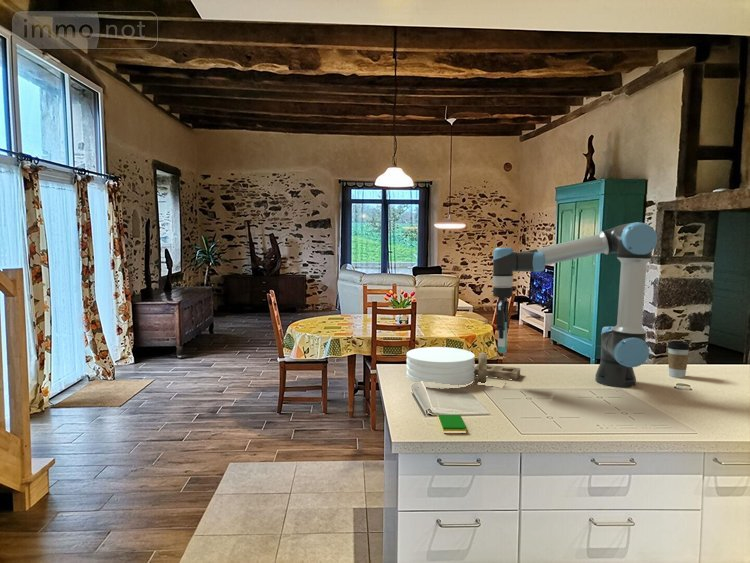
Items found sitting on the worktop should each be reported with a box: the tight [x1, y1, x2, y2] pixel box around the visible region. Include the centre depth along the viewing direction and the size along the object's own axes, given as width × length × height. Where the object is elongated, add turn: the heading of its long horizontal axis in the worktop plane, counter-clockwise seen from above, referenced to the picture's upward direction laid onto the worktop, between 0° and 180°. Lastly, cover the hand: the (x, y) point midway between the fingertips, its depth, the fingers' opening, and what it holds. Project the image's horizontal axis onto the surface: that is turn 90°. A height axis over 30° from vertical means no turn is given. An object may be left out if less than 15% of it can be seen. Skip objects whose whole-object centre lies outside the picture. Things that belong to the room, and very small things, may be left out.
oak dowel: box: [477, 352, 488, 383], centre depth 208 cm, size 3×3×12 cm
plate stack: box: [405, 346, 476, 386], centre depth 212 cm, size 28×28×12 cm
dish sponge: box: [437, 414, 467, 432], centre depth 162 cm, size 7×14×2 cm, turn 0°
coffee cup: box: [667, 340, 691, 379], centre depth 219 cm, size 8×8×15 cm
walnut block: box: [474, 363, 521, 381], centre depth 219 cm, size 18×10×4 cm, turn 65°
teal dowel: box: [497, 322, 508, 354], centre depth 203 cm, size 3×3×12 cm
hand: (502, 345), depth 204 cm, fingers closed on teal dowel, 3 cm apart
